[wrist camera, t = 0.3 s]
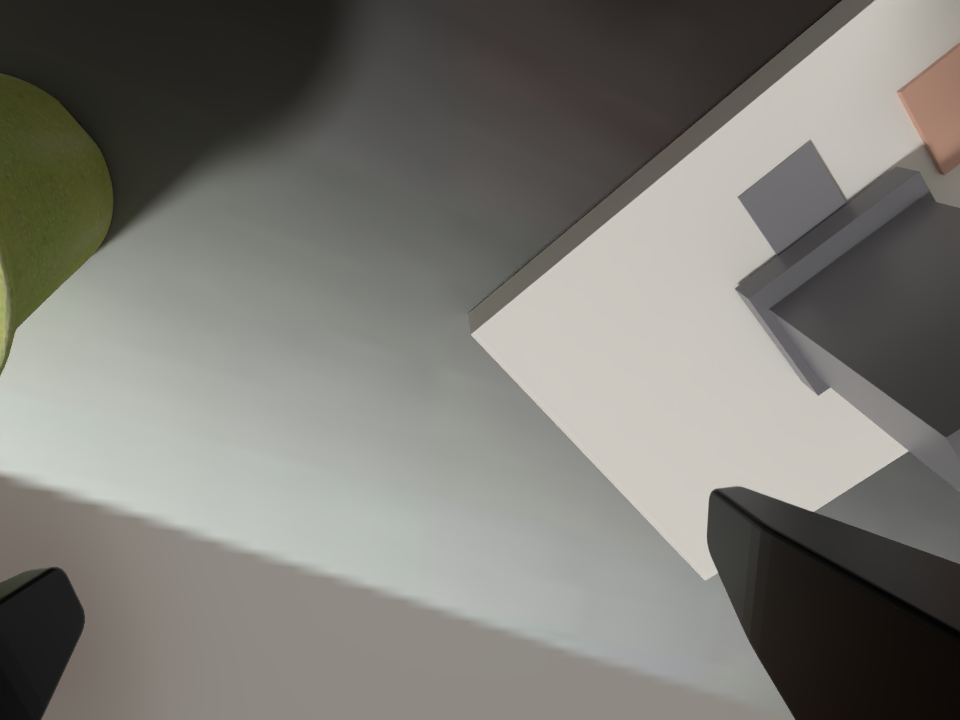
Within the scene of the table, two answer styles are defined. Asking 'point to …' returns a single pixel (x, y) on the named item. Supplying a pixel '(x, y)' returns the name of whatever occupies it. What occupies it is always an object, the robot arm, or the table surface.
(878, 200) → the handle
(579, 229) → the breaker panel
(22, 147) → the plant pot
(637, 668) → the table surface
